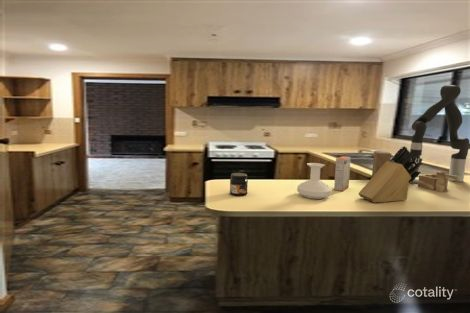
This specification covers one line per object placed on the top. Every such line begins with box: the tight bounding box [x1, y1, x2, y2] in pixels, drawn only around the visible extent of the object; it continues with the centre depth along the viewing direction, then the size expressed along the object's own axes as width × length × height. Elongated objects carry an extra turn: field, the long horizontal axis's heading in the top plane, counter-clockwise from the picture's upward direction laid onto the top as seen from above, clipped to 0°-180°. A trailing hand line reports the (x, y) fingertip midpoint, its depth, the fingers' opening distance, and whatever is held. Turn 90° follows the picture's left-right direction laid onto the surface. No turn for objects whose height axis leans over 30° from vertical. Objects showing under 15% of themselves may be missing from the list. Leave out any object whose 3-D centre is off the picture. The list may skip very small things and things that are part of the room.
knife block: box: [358, 145, 423, 204], centre depth 179 cm, size 11×35×31 cm, turn 108°
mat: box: [410, 178, 419, 185], centre depth 231 cm, size 16×13×1 cm
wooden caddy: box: [417, 171, 449, 193], centre depth 210 cm, size 14×16×12 cm
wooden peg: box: [436, 171, 459, 180], centre depth 200 cm, size 3×12×3 cm, turn 23°
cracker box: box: [333, 155, 352, 192], centre depth 201 cm, size 14×6×21 cm, turn 145°
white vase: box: [296, 162, 333, 200], centre depth 182 cm, size 20×20×19 cm
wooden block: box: [371, 150, 392, 177], centre depth 239 cm, size 10×10×20 cm
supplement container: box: [229, 172, 248, 197], centre depth 183 cm, size 10×10×12 cm
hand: (413, 171), depth 230 cm, fingers closed on lid, 2 cm apart
